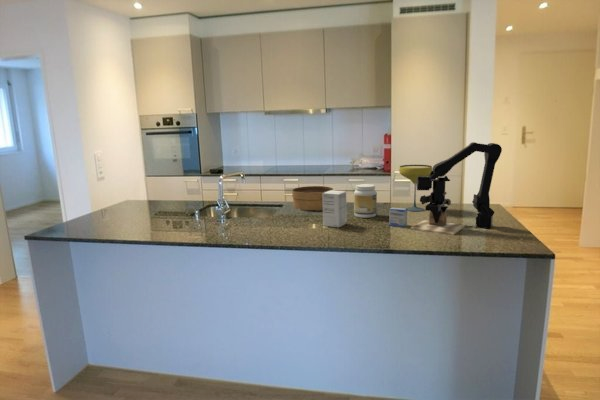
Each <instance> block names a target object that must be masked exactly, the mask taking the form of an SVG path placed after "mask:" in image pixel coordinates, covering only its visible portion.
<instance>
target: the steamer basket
mask: <svg viewBox="0 0 600 400" xmlns="http://www.w3.org/2000/svg"><path fill="white" fill-rule="evenodd" d="M330 190H334V188H332V187H330V186H324V185H323V186H322V185H321V186H320V185H319V186H318V185H312V186H311V185H310V186H309V185H307V186H299V187H295V188H293V189H291V193H292V202H293V203H292V204H293V209H295V208H296V209H295V210H298V209H300V210H299V211H305V210H316V211H323V201H322V193H325V192H327V191H330Z"/></svg>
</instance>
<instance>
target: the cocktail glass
mask: <svg viewBox="0 0 600 400" xmlns="http://www.w3.org/2000/svg"><path fill="white" fill-rule="evenodd" d="M432 169H433V166H432V165H428V164H404V165H400V166H399V168H398V170H399V171H398V172H399V174H400V175H401V176H402V177H404V178H406V179H408V180H409V181H410V182H412V183H413V184H414V196H413V197H414V199H413V206H410V207H405V208H406V209H407V212H408V211H409V212H415V213H417V212H422V211H425V208H423V207H419V206H417V204H416V203H417V202H416V197H417V195H416V194H417V187H416V182H417V177H418V176H422V177H428V175H429V174H430V173H431V172H432V171H433V170H432Z"/></svg>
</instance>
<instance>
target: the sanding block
mask: <svg viewBox="0 0 600 400" xmlns="http://www.w3.org/2000/svg"><path fill="white" fill-rule="evenodd" d="M447 213H448V212H446V211H445V212H442V213H441V216H440V218H439V221H438V223H435V221H434V217H433V214H432V212H431V211H429V215H428V216H429V217H428V219H429V220H428V221H429V225H437V226H445V225H446V223H447V219H448V217H447V216H448V214H447Z"/></svg>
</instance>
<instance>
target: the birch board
mask: <svg viewBox="0 0 600 400" xmlns="http://www.w3.org/2000/svg"><path fill="white" fill-rule="evenodd" d="M465 226H466V224H460V223H453V222H451V223H450V222H446V225H445V226H437V225H429V220H427V219H424V220H422V221H420V222H418V223H416V224H415V225H413V226H411V227H410V230H412V231H419V232H421V231H422V232H427V233H435V234H444V235H450V236H454V235H455V234H456V233H458V232H460V231H461V230H462V229H464V227H465Z"/></svg>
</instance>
